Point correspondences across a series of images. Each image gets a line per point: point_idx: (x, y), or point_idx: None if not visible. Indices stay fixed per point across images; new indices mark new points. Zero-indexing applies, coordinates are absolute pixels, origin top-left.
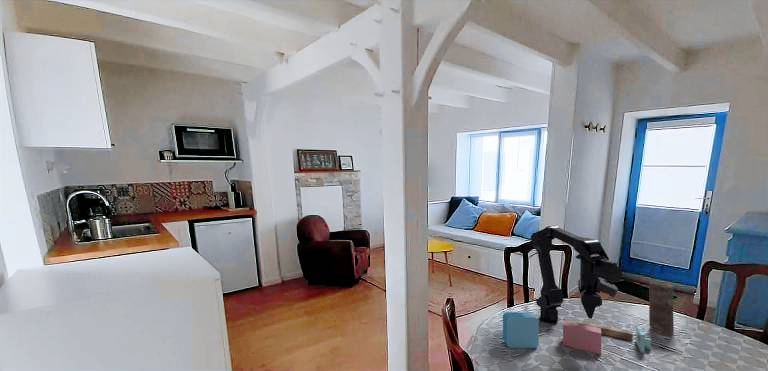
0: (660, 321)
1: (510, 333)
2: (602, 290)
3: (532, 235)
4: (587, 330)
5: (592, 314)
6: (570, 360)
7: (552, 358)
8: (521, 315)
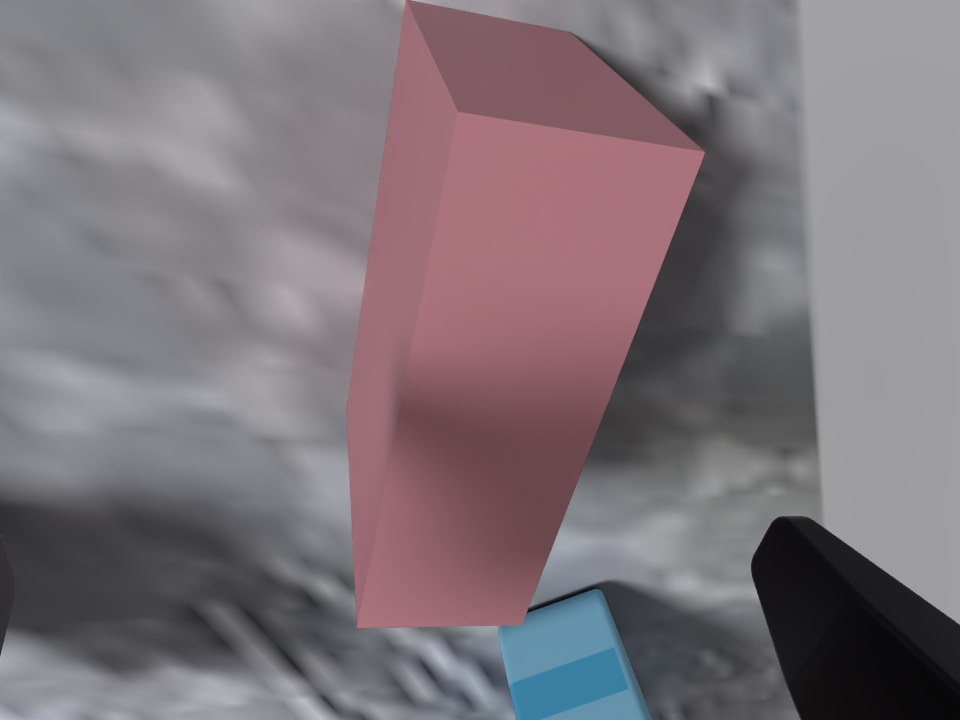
0: None
1: None
2: None
3: None
4: (622, 365)
5: (947, 633)
6: (752, 374)
7: (737, 490)
8: None
